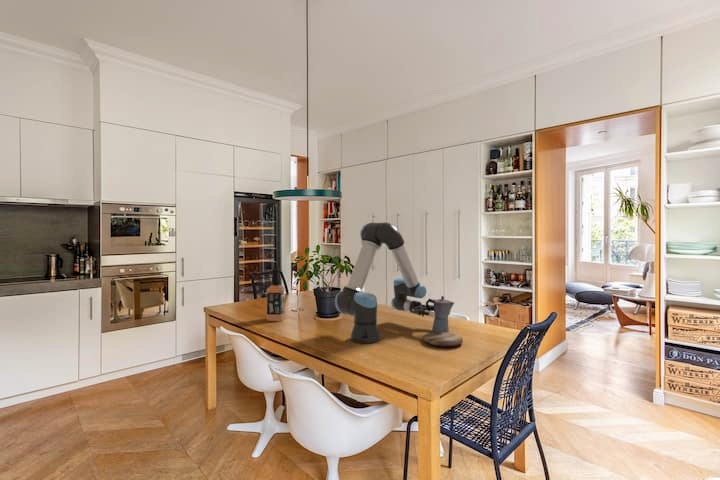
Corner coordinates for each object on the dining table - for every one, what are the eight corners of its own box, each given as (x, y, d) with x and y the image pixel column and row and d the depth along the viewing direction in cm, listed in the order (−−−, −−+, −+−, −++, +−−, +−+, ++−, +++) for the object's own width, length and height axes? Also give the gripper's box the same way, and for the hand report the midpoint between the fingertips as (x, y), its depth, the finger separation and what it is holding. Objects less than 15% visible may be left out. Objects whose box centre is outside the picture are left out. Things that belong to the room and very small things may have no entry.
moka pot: (454, 335, 200) (454, 298, 199) (425, 333, 203) (425, 297, 202) (453, 330, 209) (454, 295, 208) (425, 329, 212) (425, 294, 212)
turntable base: (422, 342, 188) (422, 340, 188) (440, 337, 197) (440, 335, 197) (445, 349, 177) (445, 346, 177) (463, 343, 186) (463, 341, 186)
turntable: (415, 339, 188) (415, 336, 188) (439, 332, 200) (439, 330, 200) (446, 348, 174) (446, 345, 174) (470, 340, 186) (470, 338, 186)
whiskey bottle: (281, 321, 230) (281, 269, 229) (265, 321, 230) (265, 269, 229) (285, 317, 240) (285, 267, 239) (270, 317, 240) (269, 267, 239)
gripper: (427, 310, 229) (456, 316, 213) (398, 316, 213) (427, 323, 197) (427, 297, 229) (456, 303, 212) (398, 303, 213) (427, 309, 196)
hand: (442, 312), depth 204 cm, fingers open, 13 cm apart
